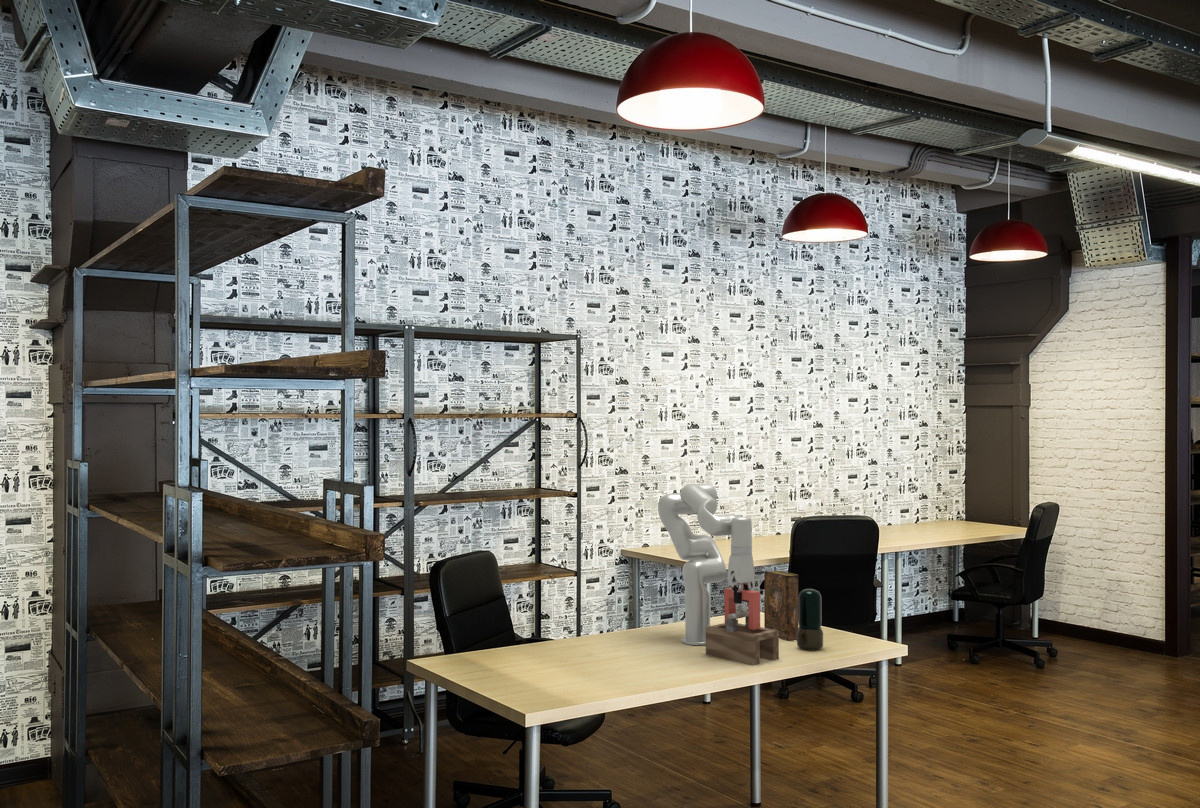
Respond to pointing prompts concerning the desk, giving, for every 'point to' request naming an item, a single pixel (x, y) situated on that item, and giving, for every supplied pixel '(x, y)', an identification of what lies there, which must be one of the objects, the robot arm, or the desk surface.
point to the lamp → (809, 620)
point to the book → (781, 603)
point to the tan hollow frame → (741, 641)
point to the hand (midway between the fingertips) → (741, 601)
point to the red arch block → (753, 605)
